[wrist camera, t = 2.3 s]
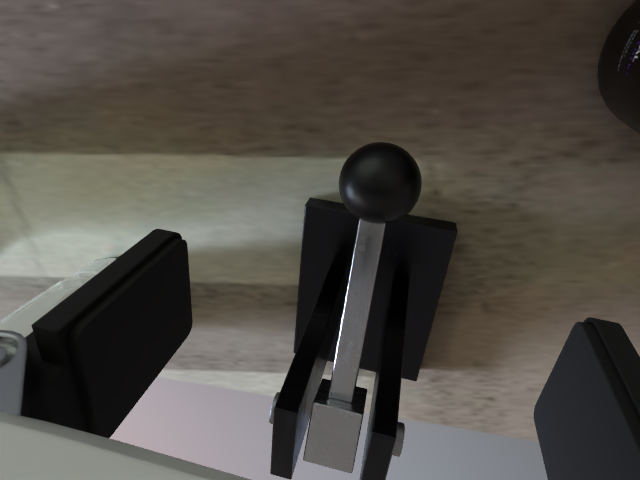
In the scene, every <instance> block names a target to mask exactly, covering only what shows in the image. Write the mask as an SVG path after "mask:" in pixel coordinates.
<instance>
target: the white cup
mask: <svg viewBox="0 0 640 480" xmlns="http://www.w3.org/2000/svg"><path fill="white" fill-rule="evenodd" d="M115 260H116V258H105V259H97V260H95V261H93V262H92V263H90V264H89V265H87V266H86V267H84V268H83V269H81V270H80V271H78V272H77V273H75V274H74V275H72V276H70V277H68V278H66V279H64V280H62V281H60V282H58V283H57V284H55V285H54V286H52V287H51V288H49V289H48V290H45V291H44V292H42V293H41V294H39V295H38V296H36V297H34V298H33V299H31V300H30V301H28V302H27V303H25V304H24V305H22V306H21V307H19V308H18V309H16V310H15V311H13V312H12V313H10V314H9V315H7V316H6V317H4V318H3V319H1V320H0V330H8V331H14V332H17V333H20V334H21V335H22V336H23V337H26V336H28V335H29V334H30V333H31V332H33V329H32V326H31V325H32V324H33V323H35V322H36V321H37V320H38V319H40V318H41V317H42V316H44V315H45V314H46V313H48V312H49V311H50V310H51V309H53V308H54V307H55V306H57V305H58V304H59V303H60V302H62V301H63V300H64V299H66V298H67V297H68V296H69V295H71V294H72V293H73V292H75V291H76V290H77V289H78V288H80V287H81V286H82V285H84V284H85V283H86V282H87V281H89V280H90V279H91V278H93V277H94V276H95V275H97V274H98V273H99V272H100V271H102V270H103V269H104V268H106V267H107V266H108V265H109V264H111V263H112V262H113V261H115Z"/></svg>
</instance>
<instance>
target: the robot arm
mask: <svg viewBox="0 0 640 480" xmlns="http://www.w3.org/2000/svg"><path fill="white" fill-rule="evenodd" d="M31 326H32V329H33V332H31V333H30V334H29V335H28V336H26V337H23V336H22V335H21V334H20V333H17V332H14V331H8V330H0V480H250V479H247V478H243V477H240V476H237V475H233V474H230V473H226V472H223V471H220V470H216V469H213V468H209V467H206V466H202V465H199V464H195V463H192V462H188V461H185V460H182V459H178V458H175V457H171V456H168V455H165V454H161V453H157V452H154V451H151V450H147V449H144V448H141V447H137V446H134V445H130V444H127V443H123V442H120V441H116V440H113V439H109V438H110V437H111V435H112V434H113V433H114V432H115V430H116V429H117V428H118V426H119V425H120V424H121V422H122V421H123V420H124V419H125V417H126V416H127V415H128V413H129V412H130V410H132V408H133V407H134V406H135V404H136V403H137V402H138V400H139V399H140V398H141V396H142V395H143V394H144V393H145V391H146V390H147V389H148V387H149V386H150V385H151V383H152V382H153V381H154V380H155V378H156V377H157V376H158V374H159V373H160V372H161V370H162V369H163V368H164V366H165V365H166V364H167V363H168V361H169V360H170V359H171V357H172V356H173V355H174V353H175V352H176V351H177V350H178V348H179V347H180V346H181V344H182V343H183V342H184V340H185V339H186V338H187V336H188V335H189V333H190V331H191V328H192V308H191V294H190V279H189V265H188V250H187V243H186V241H185V240H182V237H181V235H180V234H179V233H176V232H171V231H166V230H162V229H155V230H153V231H152V232H151V233H149V234H148V235H147V236H146V237H144V238H143V239H142V240H140V241H139V242H138V243H137V244H135V245H134V246H133V247H131V248H130V249H129V250H127V251H126V252H125V253H124V254H122V255H121V256H120V257H118V258H117V259H116V260H115V261H113V262H112V263H111V264H109V265H108V266H107V267H106V268H104V269H103V270H102V271H100V272H99V273H98V274H97V275H95V276H94V277H93V278H91V279H90V280H89V281H87V282H86V283H85V284H84V285H82V286H81V287H80V288H78V289H77V290H76V291H75V292H73V293H72V294H71V295H69V296H68V297H67V298H66V299H64V300H63V301H62V302H60V303H59V304H58V305H57V306H55V307H54V308H53V309H51V310H50V311H49V312H48V313H46V314H45V315H44V316H42V317H41V318H40V319H38V320H37V321H36V322H35V323H33V324H32V325H31ZM534 422H535V426H536V430H537V435H538V439H539V443H540V447H541V452H542V456H543V460H544V464H545V469H546V473H547V477H548V480H640V357H639V355H638V353H637V352H636V350H635V348H634V347H633V345H632V343H631V341H630V340H629V338H628V336H627V335H626V333H625V331H624V329H623V328H622V326H621V325H620V324H618V323H615V322H610V321H605V320H601V319H596V318H591V317H590V318H587V319H586V320H585V321H584V322H577V323H576V324H575V325H574V326H573V328H572V330H571V332H570V335H569V337H568V339H567V341H566V343H565V345H564V347H563V349H562V351H561V353H560V355H559V357H558V359H557V361H556V364H555V366H554V368H553V370H552V372H551V374H550V376H549V378H548V380H547V382H546V384H545V386H544V388H543V390H542V393H541V395H540V397H539V399H538V401H537V403H536V405H535V409H534Z"/></svg>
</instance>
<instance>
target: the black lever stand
mask: <svg viewBox="0 0 640 480" xmlns="http://www.w3.org/2000/svg"><path fill="white" fill-rule="evenodd" d="M358 224H359V219H358V218H356V217H355V216H354V215H353V214H352V213H350V212H349V210H348V209H347V208H346V206H345V205H344V203H338V202H332V201H326V200H320V199H315V198H309V200H308V201H307V203H306V204H305V212H304V225H303V238H302V251H301V264H300V276H299V289H298V302H297V315H296V328H295V341H294V353H296V354H295V356H294V359H293V361H292V364H291V366H290V369H289V371H288V374H287V376H286V379H285V381H284V384H283V386H282V389H281V392H277V394H276V395H275V397H274V400H273V403H272V406H271V411H270V416H269V422H270V423H271V424H273V435H272V454H271V474H273V475H276V476H280V477H283V478H287V479H292V475H293V472H294V469H295V465H296V462H297V459H298V455H299V452H300V449H301V445H302V442H303V439H304V435H305V432H306V429H307V425H308V422H309V419H310V415H311V411H312V405H313V401H314V399H315V396H316V394H317V391H318V389H319V386H320V382H321V379H322V376H323V372H324V369H325V366H326V362H327V361H331V362H334V361H335V355H336V349H337V344H338V338H339V332H340V326H341V321H342V315H343V309H344V304H345V298H346V292H347V287H348V281H349V275H350V270H351V264H352V258H353V253H354V247H355V241H356V236H357V230H358ZM456 234H457V227H456V223H453V222H447V221H442V220H436V219H430V218H424V217H418V216H413V215H405V216H404V217H403V218H401V219H400V220H398V221H395V222H393V223H389V224H386V227H385V232H384V237H383V243H382V248H381V253H380V259H379V264H378V270H377V275H376V280H375V286H374V291H373V296H372V302H371V307H370V313H369V318H368V323H367V329H366V334H365V339H364V345H363V350H362V355H361V361H360V366H359V368H361V369H365V370H369V371H374V372H376V377H375V383H374V390H373V396H372V403H371V409H370V416H369V422H368V429H367V435H366V442H365V448H364V455H363V461H362V468H361V474H360V480H386V476H387V472H388V468H389V464H390V461H391V457H392V455H394V456H398V457H399V456H400V454H401V451H402V446H403V440H404V431H405V425H404V423H401V422H398V412H399V400H400V388H401V378H404V379H408V380H413V381H417V377H418V374H419V370H420V366H421V363H422V359H423V355H424V352H425V348H426V344H427V341H428V337H429V333H430V330H431V326H432V322H433V319H434V315H435V311H436V308H437V304H438V300H439V297H440V293H441V289H442V286H443V282H444V278H445V275H446V271H447V267H448V264H449V260H450V256H451V253H452V249H453V245H454V242H455V238H456Z"/></svg>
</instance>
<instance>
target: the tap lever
mask: <svg viewBox="0 0 640 480" xmlns="http://www.w3.org/2000/svg"><path fill="white" fill-rule="evenodd" d="M339 190H340V195H341V198H342V201H343V203H344V205H345V206H346V208H347V209H348V210H349V212H350V213H352V214H353V215H354V216H355V217H356V218H358V219H359V224H358V230H357V236H356V241H355V247H354V253H353V258H352V264H351V270H350V275H349V281H348V287H347V292H346V298H345V304H344V309H343V315H342V321H341V326H340V332H339V338H338V344H337V349H336V355H335V361H334V366H333V372H332V378H331V380H327V379H322V381H321V383H320V386H319V389H318V391H317V394H316V396H315V399H314V401H313V405H312V411H311V416H310V422H309V429H308V434H307V441H306V446H305V452H304V458H303V460H304V461H308V462H312V463H315V464H319V465H322V466H326V467H330V468H333V469H337V470H341V471H344V472H348V473H352V471H353V466H354V461H355V456H356V450H357V445H358V440H359V435H360V430H361V424H362V419H363V414H364V407H365V401H366V394H367V389H365V388H361V387H356V382H357V377H358V372H359V366H360V361H361V355H362V350H363V345H364V339H365V334H366V329H367V323H368V318H369V313H370V307H371V302H372V296H373V291H374V286H375V280H376V275H377V270H378V264H379V259H380V253H381V248H382V243H383V237H384V232H385V227H386V224H389V223H393V222H395V221H398V220H400V219H401V218H403V217H404V216H405V215H407V214H408V213H409V212H410V211H411V210H412V208H413V207H414V206H415V204H416V202H417V201H418V198H419V196H420V192H421V174H420V170H419V167H418V165H417V163H416V161H415V160H414V158H413V157H412V156H411V155H410V154H409V153H408V152H407V151H406V150H404V149H403V148H401V147H399V146H397V145H394V144H391V143H385V142H376V143H371V144H368V145H365V146H363V147H361V148H359V149H357V150H356V151H355V152H354V153H352V154H351V155H350V157H349V158H348V159H347V160H346V162H345V163H344V165H343V167H342V170H341V173H340V177H339Z"/></svg>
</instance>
